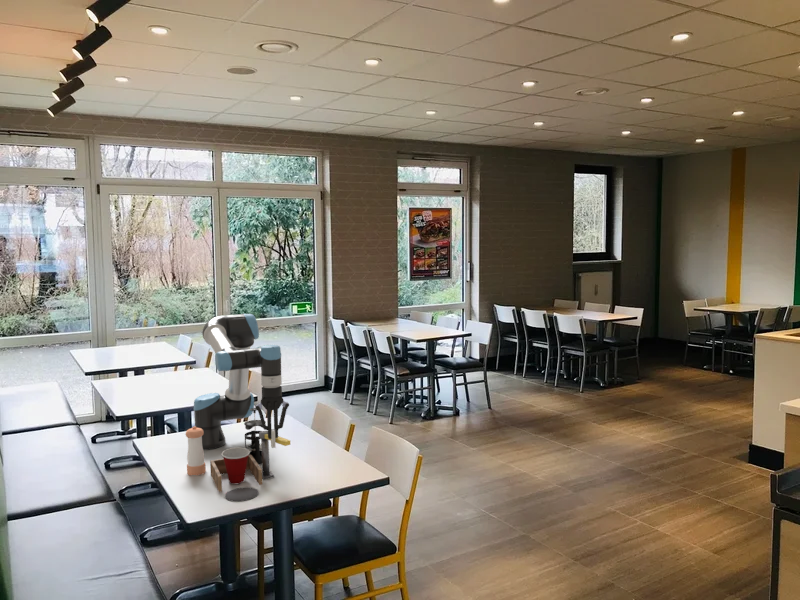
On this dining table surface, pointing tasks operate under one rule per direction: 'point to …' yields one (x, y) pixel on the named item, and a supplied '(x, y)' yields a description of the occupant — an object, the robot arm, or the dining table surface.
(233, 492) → the pad
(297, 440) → the dining table surface
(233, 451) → the plastic cup
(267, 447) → the post
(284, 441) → the arm
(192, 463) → the pepper shaker
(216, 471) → the walnut holder
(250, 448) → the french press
